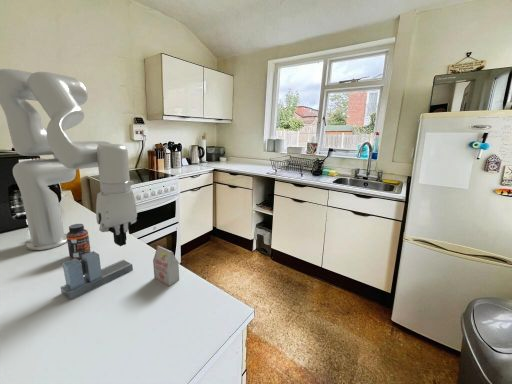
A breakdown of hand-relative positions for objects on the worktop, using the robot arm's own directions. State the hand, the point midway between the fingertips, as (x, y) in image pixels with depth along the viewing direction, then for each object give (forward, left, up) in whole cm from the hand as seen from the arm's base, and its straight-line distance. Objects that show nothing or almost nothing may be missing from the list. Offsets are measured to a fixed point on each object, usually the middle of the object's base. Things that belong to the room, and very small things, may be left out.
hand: (120, 244), depth 74 cm
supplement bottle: (-19, -4, -9) cm, 21 cm away
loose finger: (+1, -9, -6) cm, 11 cm away
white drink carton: (+16, +4, -9) cm, 19 cm away
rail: (+1, -7, -9) cm, 11 cm away
